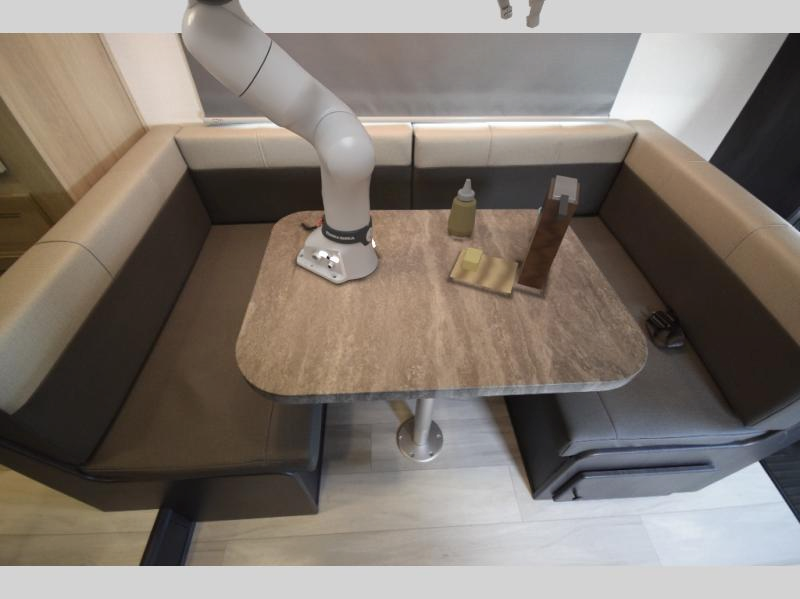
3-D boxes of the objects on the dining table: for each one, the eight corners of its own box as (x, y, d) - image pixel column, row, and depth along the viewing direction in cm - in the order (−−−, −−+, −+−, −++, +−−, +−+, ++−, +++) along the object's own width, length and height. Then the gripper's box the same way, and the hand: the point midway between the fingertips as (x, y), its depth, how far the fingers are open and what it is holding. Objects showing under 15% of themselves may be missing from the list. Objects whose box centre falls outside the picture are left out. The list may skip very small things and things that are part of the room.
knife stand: (511, 288, 92) (542, 199, 73) (518, 261, 100) (548, 174, 81) (542, 297, 90) (582, 207, 71) (547, 269, 98) (584, 181, 79)
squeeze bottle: (471, 244, 105) (483, 188, 92) (444, 240, 106) (452, 185, 93) (473, 229, 110) (484, 174, 98) (447, 225, 112) (455, 171, 99)
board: (448, 280, 93) (449, 276, 92) (461, 252, 102) (462, 248, 101) (509, 297, 90) (510, 293, 88) (517, 267, 98) (518, 262, 97)
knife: (547, 218, 68) (550, 211, 67) (555, 178, 80) (557, 172, 79) (572, 223, 67) (575, 216, 66) (576, 182, 79) (578, 175, 78)
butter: (461, 268, 95) (463, 259, 93) (466, 255, 99) (468, 247, 97) (475, 272, 94) (477, 263, 92) (480, 259, 98) (482, 250, 96)
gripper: (470, -69, 65) (479, 20, 75) (533, -68, 52) (533, 39, 62) (501, -84, 65) (506, 7, 75) (572, -87, 51) (566, 23, 62)
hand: (519, 22), depth 69 cm, fingers open, 8 cm apart
